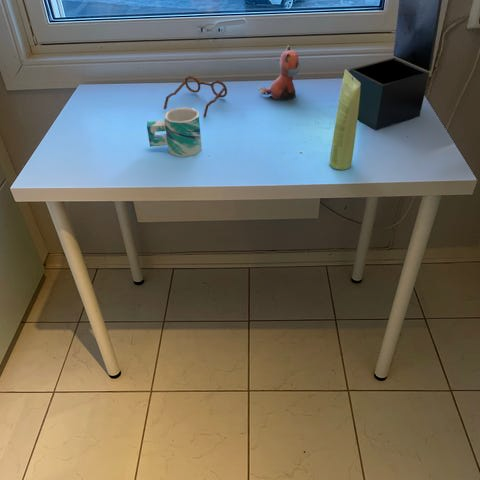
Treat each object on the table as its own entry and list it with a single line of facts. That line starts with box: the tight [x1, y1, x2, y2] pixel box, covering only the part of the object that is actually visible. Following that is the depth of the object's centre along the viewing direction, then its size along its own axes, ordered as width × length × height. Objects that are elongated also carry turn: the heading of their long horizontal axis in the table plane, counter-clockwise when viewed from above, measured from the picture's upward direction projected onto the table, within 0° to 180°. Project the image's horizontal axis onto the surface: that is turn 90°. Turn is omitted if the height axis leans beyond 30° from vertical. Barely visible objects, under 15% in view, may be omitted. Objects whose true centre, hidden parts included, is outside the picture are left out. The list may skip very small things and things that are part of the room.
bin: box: [348, 57, 430, 131], centre depth 131 cm, size 15×13×11 cm
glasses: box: [163, 75, 228, 118], centre depth 141 cm, size 13×13×5 cm
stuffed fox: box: [257, 44, 301, 101], centre depth 141 cm, size 8×11×12 cm
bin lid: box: [393, 0, 443, 72], centre depth 125 cm, size 15×13×5 cm
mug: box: [146, 106, 203, 158], centre depth 122 cm, size 8×12×8 cm
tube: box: [329, 68, 361, 171], centre depth 110 cm, size 6×5×20 cm
